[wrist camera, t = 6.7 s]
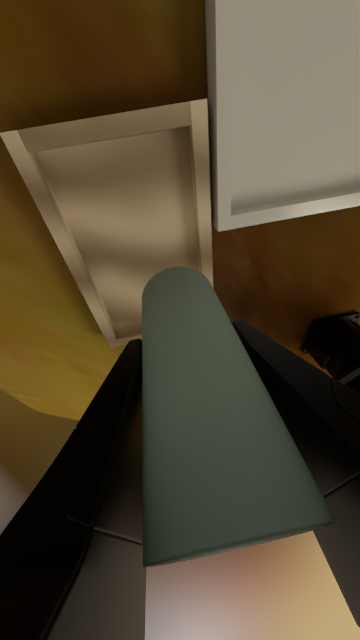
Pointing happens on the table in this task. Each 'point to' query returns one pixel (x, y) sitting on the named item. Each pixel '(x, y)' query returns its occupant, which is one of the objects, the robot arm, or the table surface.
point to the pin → (212, 434)
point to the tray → (122, 202)
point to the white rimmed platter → (282, 108)
